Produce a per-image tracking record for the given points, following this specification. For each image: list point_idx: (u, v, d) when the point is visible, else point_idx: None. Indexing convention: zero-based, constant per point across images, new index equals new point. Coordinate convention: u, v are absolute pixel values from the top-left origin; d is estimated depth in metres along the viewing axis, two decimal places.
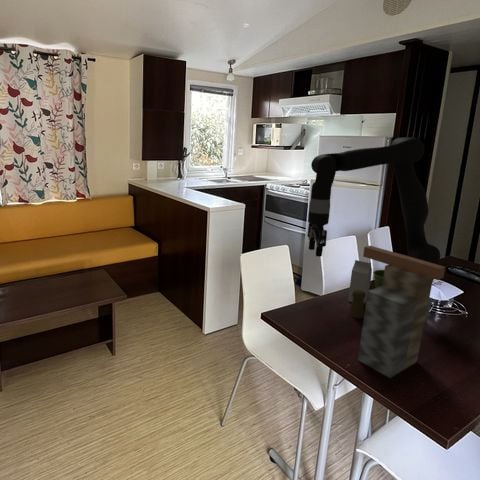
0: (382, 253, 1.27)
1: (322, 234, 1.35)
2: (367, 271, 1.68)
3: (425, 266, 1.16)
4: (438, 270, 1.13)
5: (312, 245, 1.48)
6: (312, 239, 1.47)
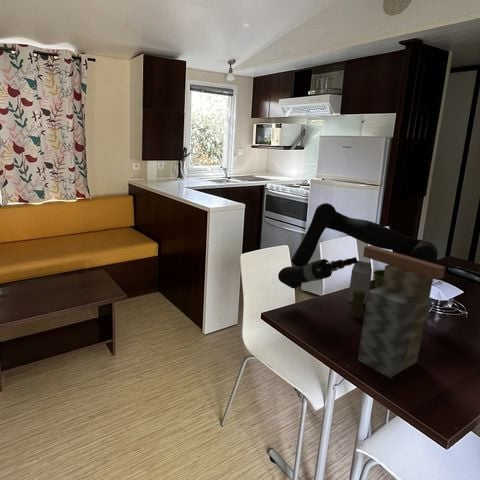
0: (382, 253, 1.27)
1: (319, 270, 1.43)
2: (367, 271, 1.68)
3: (425, 266, 1.16)
4: (438, 270, 1.13)
5: (351, 260, 1.44)
6: (347, 262, 1.46)
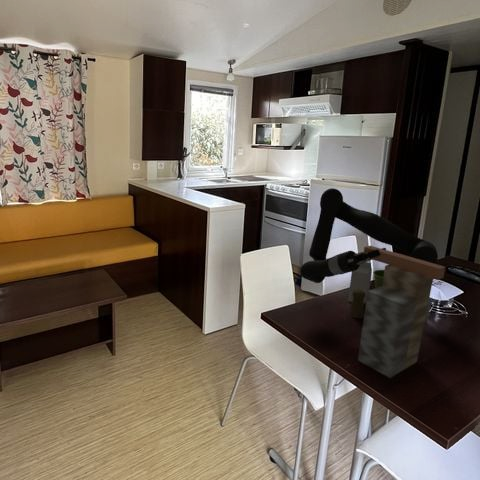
0: (382, 253, 1.27)
1: (351, 261, 1.32)
2: (367, 271, 1.68)
3: (425, 266, 1.16)
4: (438, 270, 1.13)
5: None
6: None
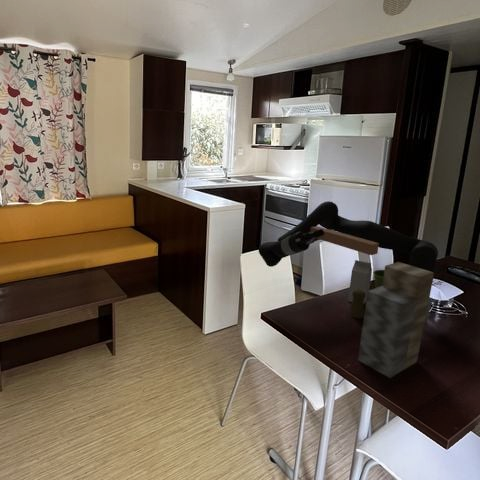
0: (325, 232, 1.35)
1: (298, 240, 1.40)
2: (367, 271, 1.68)
3: (360, 242, 1.24)
4: (371, 246, 1.21)
5: None
6: None
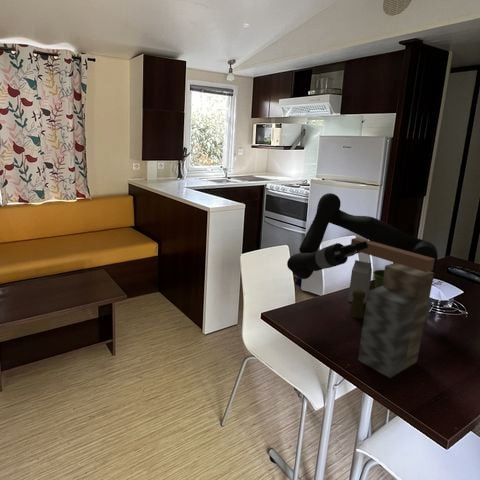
0: (369, 245, 1.21)
1: (338, 253, 1.26)
2: (367, 271, 1.68)
3: (413, 257, 1.10)
4: (427, 262, 1.07)
5: None
6: None
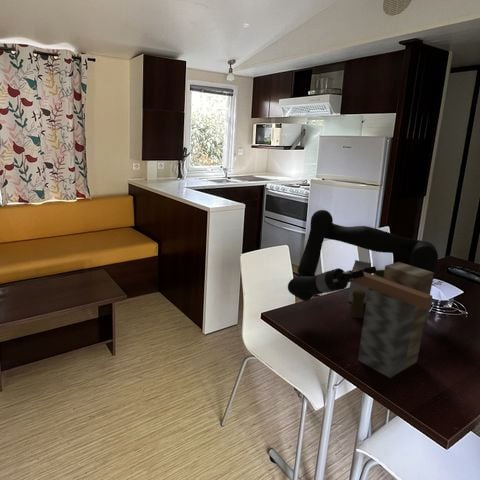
0: (368, 278, 1.23)
1: (335, 281, 1.28)
2: None
3: (412, 294, 1.12)
4: (425, 299, 1.09)
5: (369, 270, 1.28)
6: None
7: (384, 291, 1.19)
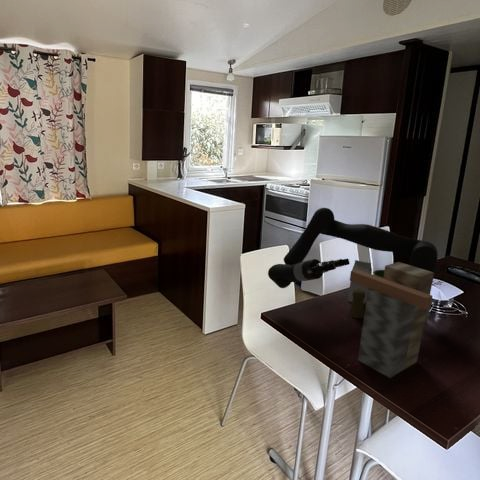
0: (368, 278, 1.23)
1: (309, 272, 1.37)
2: (367, 271, 1.68)
3: (412, 294, 1.12)
4: (425, 299, 1.09)
5: (343, 262, 1.38)
6: (339, 263, 1.40)
7: (384, 291, 1.19)
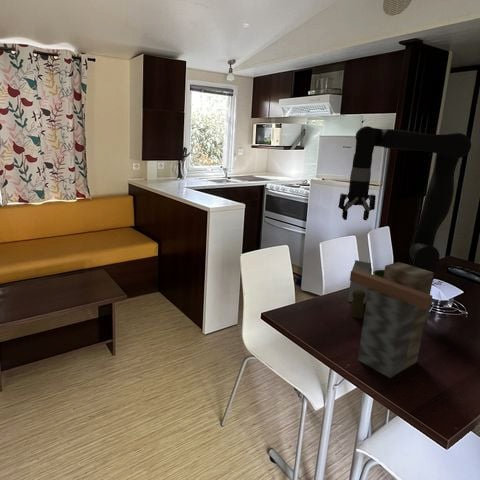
0: (368, 278, 1.23)
1: (340, 196, 1.51)
2: (367, 271, 1.68)
3: (412, 294, 1.12)
4: (425, 299, 1.09)
5: (364, 215, 1.54)
6: (365, 210, 1.53)
7: (384, 291, 1.19)
